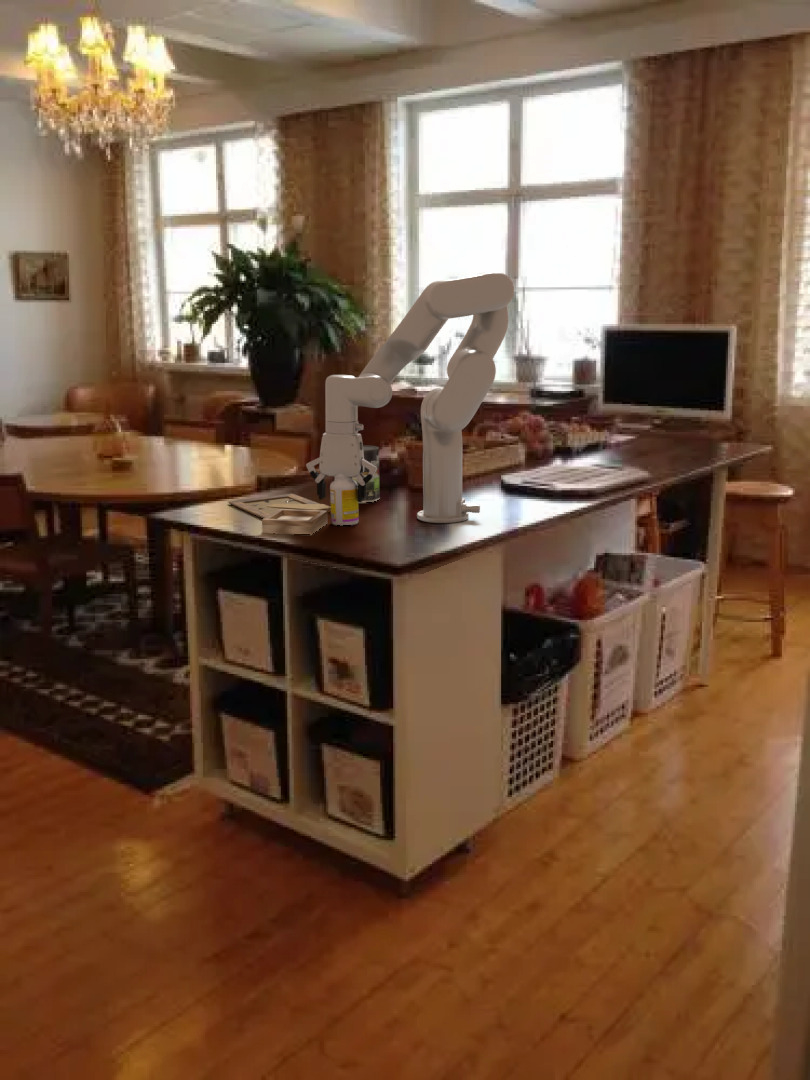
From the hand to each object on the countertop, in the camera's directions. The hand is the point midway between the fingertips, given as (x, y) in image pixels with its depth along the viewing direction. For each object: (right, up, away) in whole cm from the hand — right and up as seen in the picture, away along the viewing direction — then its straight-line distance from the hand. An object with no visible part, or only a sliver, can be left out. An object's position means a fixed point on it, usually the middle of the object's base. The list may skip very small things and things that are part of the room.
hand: (341, 499), depth 233 cm
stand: (-11, -7, -3) cm, 13 cm away
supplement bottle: (+1, -6, +2) cm, 6 cm away
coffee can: (+3, +1, +29) cm, 29 cm away
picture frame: (-17, -2, +20) cm, 27 cm away
